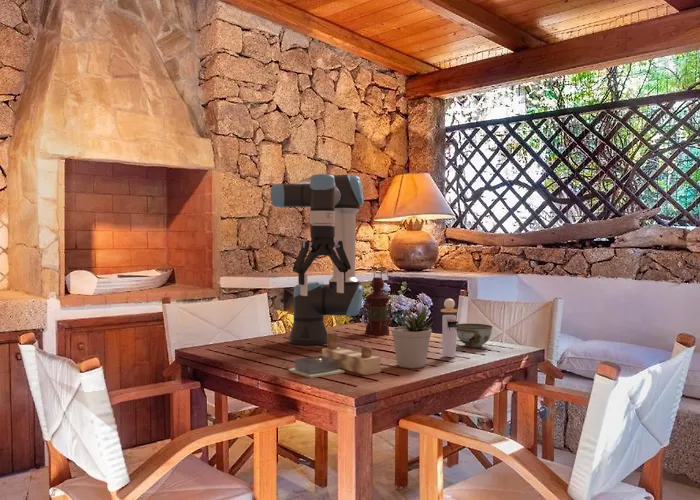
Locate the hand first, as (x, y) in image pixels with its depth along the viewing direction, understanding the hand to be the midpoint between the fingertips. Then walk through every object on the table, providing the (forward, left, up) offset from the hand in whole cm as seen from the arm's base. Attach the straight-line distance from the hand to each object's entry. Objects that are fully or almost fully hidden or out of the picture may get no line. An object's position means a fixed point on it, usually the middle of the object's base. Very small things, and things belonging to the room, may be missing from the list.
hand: (322, 294), depth 187 cm
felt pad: (+3, -4, -23) cm, 23 cm away
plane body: (+4, +8, -23) cm, 24 cm away
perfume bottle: (+11, +45, -23) cm, 51 cm away
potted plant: (+14, +25, -23) cm, 37 cm away
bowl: (+2, +68, -23) cm, 72 cm away
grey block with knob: (+3, -4, -22) cm, 23 cm away
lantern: (-43, +59, -23) cm, 76 cm away
